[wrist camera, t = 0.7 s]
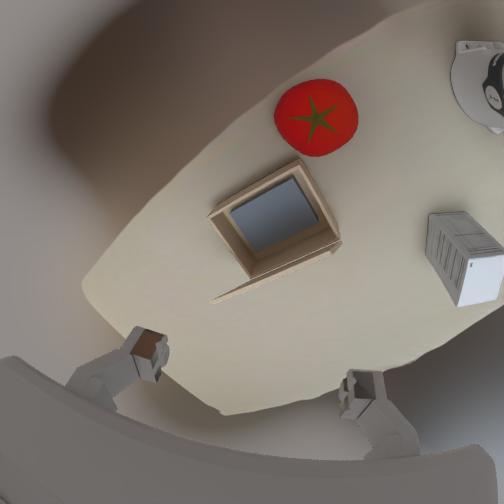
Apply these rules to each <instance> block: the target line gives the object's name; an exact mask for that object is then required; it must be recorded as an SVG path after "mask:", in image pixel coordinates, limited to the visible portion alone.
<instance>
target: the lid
mask: <svg viewBox="0 0 504 504" xmlns="http://www.w3.org/2000/svg"><path fill="white" fill-rule="evenodd" d="M341 245H342V241H339V242H336V243H334V244H332V245H330V246H328V247H325V248H323V249H321V250H319V251H316V252H314V253H312V254H310V255H308V256H305V257H303V258H301V259H299V260H296V261H294V262H292V263H289V264H287V265H285V266H283V267H280V268H278V269H276V270H273V271H271V272H269V273H266V274H264V275H262V276H260V277H257V278H255V279H253V280H250V281H248V282H246V283H244V284H243V285H241V286H239V287H237V288H235V289H233V290H231V291H229V292H227V293H225V294H223V295H221V296H219V297H217V298H215V299H213V300H211V301H209V302H210V304H211V305H213V304H216V303H218V302H221V301H224V300H226V299H229V298H231V297H234V296H236V295H239V294H241V293H244V292H246V291H248V290H251V289H253V288H256V287H258V286H261V285H263V284H265V283H268V282H270V281H273V280H275V279H277V278H280V277H282V276H285V275H287V274H289V273H292V272H294V271H296V270H299V269H301V268H303V267H306V266H308V265H310V264H313V263H315V262H317V261H320V260H322V259H324V258H326V257H329V256H331V255H332V254H333V253H334V252H335V251H336V250H337V249H338V248H339V247H340V246H341Z"/></svg>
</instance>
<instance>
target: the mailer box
mask: <svg viewBox="0 0 504 504" xmlns="http://www.w3.org/2000/svg"><path fill="white" fill-rule="evenodd" d="M206 218H207V219H208V221H209V222H210V223H211V225H212V226H213V228H214V229H215V230H216V232H217V233H218V235H219V236H220V237H221V239H222V240H223V242H224V243H225V244H226V246H227V247H228V248H229V250H230V251H231V253H232V254H233V255H234V257H235V258H236V259H237V261H238V262H239V264H240V265H241V266H242V268H243V269H244V270H245V272H246V273H247V275H248V276H249V277H250V279H252V278H254V277H257V276H259V275H261V274H264V273H266V272H268V271H270V270H273V269H275V268H277V267H280V266H282V265H284V264H286V263H289V262H291V261H293V260H295V259H298V258H300V257H302V256H304V255H307V254H309V253H311V252H313V251H316V250H318V249H320V248H322V247H325V246H327V245H329V244H331V243H333V242H336V241H338V240H340V239H341V238H340V233H339V228H338V224H337V222H336V220H335V218H334V216H333V214H332V212H331V210H330V209H329V207H328V205H327V203H326V201H325V199H324V198H323V196H322V194H321V192H320V190H319V189H318V187H317V185H316V183H315V181H314V180H313V178H312V176H311V175H310V173H309V171H308V169H307V168H306V166H305V164H304V163H303V161H302V159H301V158H298V159H297V160H295V161H293V162H291V163H289V164H287V165H286V166H284V167H282V168H280V169H278V170H276V171H275V172H273V173H271V174H269V175H268V176H266V177H264V178H262V179H261V180H259V181H257V182H255V183H254V184H252V185H250V186H248V187H247V188H245V189H243V190H241V191H240V192H238V193H236V194H235V195H233V196H231V197H230V198H228V199H226V200H225V201H223V202H221V203H220V204H218V205H217V206H216V207H215V208H214V209H213V210H212V211H211V213H210V214H209V215H208V216H207V217H206Z"/></svg>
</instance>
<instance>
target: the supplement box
mask: <svg viewBox="0 0 504 504" xmlns="http://www.w3.org/2000/svg"><path fill="white" fill-rule="evenodd" d="M426 256H427V258H428V259H429V261H430V262H431V264H432V266H433V267H434V269H435V270H436V272H437V274H438V275H439V277H440V279H441V280H442V282H443V284H444V286H445V287H446V289H447V291H448V293H449V294H450V296H451V298H452V300H453V302H454V304H455V306H456V307H461V306H467V305H472V304H477V303H482V302H486V301H491V300H496V298H497V295H498V292H499V289H500V286H501V282H502V279H503V276H504V248H503V247H502V246H501V245H500V244H499V243H498V242H497V241H496V240H495V239H494V238H493V237H492V236H491V235H490V234H489V233H488V232H487V231H486V230H485V229H484V228H483V227H482V226H481V225H480V224H479V223H478V222H476V221H475V220H474V219H473V218H472V217H471V216H470V215H469V214H467V213H466V212H454V213H438V214H429V225H428V236H427V246H426Z"/></svg>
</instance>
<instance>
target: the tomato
mask: <svg viewBox="0 0 504 504" xmlns="http://www.w3.org/2000/svg"><path fill="white" fill-rule="evenodd" d="M274 119H275V124H276V126H277V128H278V131H279V132H280V134H281V135H282V137H283V138H284V139H285V140H286V141H287V142H288V143H289V144H290V145H291V146H292V147H293V148H295V149H296V150H297V151H299V152H300V153H302V154H304V155H307V156H311V157H319V156H323V155H327V154H329V153H331V152H333V151H335V150H337V149H339V148H340V147H342V146H343V145H344V144H346V143H347V142H348V141H349V140H350V139H351V138H352V137H353V135H354V133H355V132H356V130H357V126H358V112H357V108H356V105H355V103H354V101H353V99H352V98H351V96H350V94H349V93H348V92H347V90H346V89H345V88H344V87H343V86H342V85H340V84H339V83H337V82H334V81H332V80H326V79H316V80H310V81H306V82H304V83H301V84H299V85H296V86H294V87H292V88H291V89H289V90H288V91H287V92H286V93H285V94H284V95H283V96H282V97H281V99H280V101H279V102H278V104H277V106H276V109H275V113H274Z"/></svg>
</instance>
